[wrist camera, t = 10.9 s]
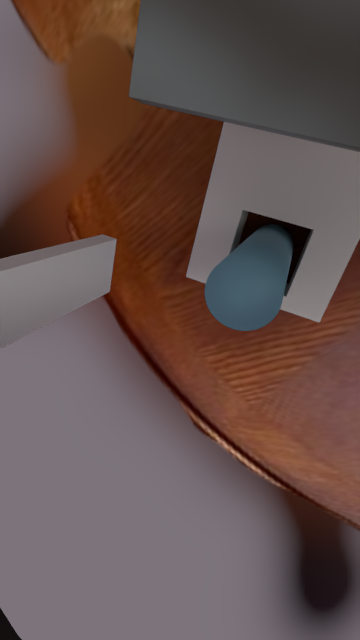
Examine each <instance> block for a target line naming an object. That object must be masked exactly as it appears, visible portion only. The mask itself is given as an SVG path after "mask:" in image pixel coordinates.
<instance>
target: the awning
mask: <svg viewBox="0 0 360 640" xmlns="http://www.w3.org/2000/svg"><path fill="white" fill-rule="evenodd" d="M129 97H131V98H133V99H135V100H137V101H139V102H141V103H143V104H147V105H152V106H156V107H161V108H165V109H170V110H174V111H178V112H183V113H187V114H192V115H196V116H201V117H205V118H210V119H214V120H219V121H223V122H228V123H232V124H237V125H241V126H245V127H250V128H254V129H259V130H263V131H268V132H272V133H277V134H281V135H286V136H290V137H295V138H299V139H303V140H308V141H312V142H317V143H321V144H326V145H330V146H335V147H339V148H344V149H348V150H353V151H357V152H360V0H141V3H140V11H139V19H138V27H137V35H136V43H135V51H134V59H133V67H132V75H131V82H130V90H129Z"/></svg>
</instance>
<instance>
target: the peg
mask: <svg viewBox="0 0 360 640" xmlns="http://www.w3.org/2000/svg"><path fill="white" fill-rule="evenodd" d="M293 249H294V241H293V237H292V235H291V233H290V232H289V231H288V230H287V229H286V228H284V227H283V226H281V225H277V224H268V225H264V226H262V227H260V228H258V229H257V230H256V231H255V232H254V233H253V234H252V235H250V236H249V237H248V238H247V239H246V240H245V241H244V242H243V243H241V244H240V245H239V246H238V247H237V248H236V249H235V250H234V251H232V252H231V253H230V254H229V255H228V256H227V257H226V258H225V259H224V260H222V261H221V262H220V263H219V264H218V265H217V266H216V267H215V268H214V269H213V270H212V271H211V273H210V274H209V276H208V278H207V281H206V285H205V300H206V303H207V306H208V308H209V310H210V312H211V313H212V315H213V316H214V317H215V318H216V319H217V320H218V321H219V322H220V323H222V324H223V325H225V326H227V327H229V328H232V329H235V330H240V331H250V330H255V329H259V328H261V327H263V326H265V325H267V324H268V323H269V322H271V321H272V320H273V319H274V318H275V316H276V315H277V313H278V312H279V310H280V308H281V304H282V300H283V296H284V291H285V287H286V282H287V277H288V273H289V268H290V263H291V259H292V254H293Z"/></svg>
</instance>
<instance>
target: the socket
mask: <svg viewBox="0 0 360 640" xmlns="http://www.w3.org/2000/svg"><path fill="white" fill-rule="evenodd" d="M249 212H253V213H256V214H260V215H263V216H267V217H270V218H274V219H277V220H281V221H284V222H288V223H291V224H295V225H298V226H302V227H306V228H309V229H311V231H310V233H309V236H308V238H307V240H306V243H305V245H304V248H303V250H302V253H301V255H300V258H299V260H298V263H297V265H296V268H295V270H294V273H293V275H292V277H291V280H290V282H289V284H287V283H286V287H285V291H284V296H283V300H282V304H281V308H280V309H281V310H284V311H287V312H290V313H293V314H296V315H299V316H302V317H304V318H307V319H310V320H313V321H316V322H320V320H321V318H322V316H323V314H324V312H325V310H326V308H327V306H328V304H329V302H330V299H331V297H332V295H333V293H334V291H335V289H336V287H337V285H338V283H339V281H340V279H341V276H342V274H343V272H344V270H345V268H346V266H347V264H348V262H349V260H350V258H351V256H352V254H353V251H354V249H355V247H356V245H357V243H358V241H359V239H360V152H357V151H353V150H348V149H344V148H339V147H335V146H330V145H326V144H321V143H317V142H312V141H308V140H303V139H299V138H295V137H290V136H286V135H281V134H277V133H272V132H268V131H263V130H259V129H254V128H250V127H245V126H241V125H237V124H232V123H228V122H224V124H223V128H222V132H221V136H220V140H219V144H218V148H217V152H216V156H215V160H214V164H213V168H212V172H211V176H210V180H209V185H208V189H207V193H206V197H205V201H204V205H203V209H202V213H201V217H200V221H199V225H198V229H197V233H196V237H195V241H194V245H193V250H192V254H191V258H190V262H189V266H188V270H187V274H186V277H188V278H191V279H194V280H197V281H200V282H202V283H205V284H206V281H207V278H208V276H209V274H210V273H211V271H212V270H213V269H214V268H215V267H216V266H217V265H218V264H219V263H220V262H221V261H222V260H224V259H225V258H226V257H227V256H228V255H229V254H230V253H231V252H232V251H234V250H235V249H236V248H237V247H238V245H239V242H240V239H241V235H242V232H243V229H244V226H245V223H246V219H247V216H248V213H249Z"/></svg>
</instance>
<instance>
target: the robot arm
mask: <svg viewBox="0 0 360 640" xmlns="http://www.w3.org/2000/svg"><path fill="white" fill-rule="evenodd" d="M116 240H117V239H115V238H112V237H109V236H106V235H98V236H94V237H90V238H86V239H82V240H77V241H73V242H69V243H65V244H61V245H56V246H52V247H48V248H44V249H40V250H35V251H31V252H27V253H23V254H19V255H14V256H10V257H6V258H2V259H0V348H3V347H5V346H7V345H9V344H11V343H13V342H14V341H16V340H18V339H20V338H22V337H24V336H26V335H28V334H30V333H32V332H34V331H35V330H37V329H39V328H41V327H43V326H45V325H47V324H49V323H51V322H53V321H55V320H57V319H58V318H60V317H62V316H64V315H66V314H68V313H70V312H72V311H74V310H76V309H78V308H79V307H81V306H83V305H85V304H87V303H89V302H91V301H93V300H95V299H97V298H99V297H101V296H102V295H104V294H106V293H108V292H110V286H111V278H112V271H113V263H114V255H115V248H116ZM0 640H22V639H21V638H20V637H19V636H18V635H17V633H16V632H15V630H14V629H13V627H12V626H11V624H10V622H9V621H8V619H7V618H6V616H5V615H4V613H3V612H2V610H1V609H0Z"/></svg>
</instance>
